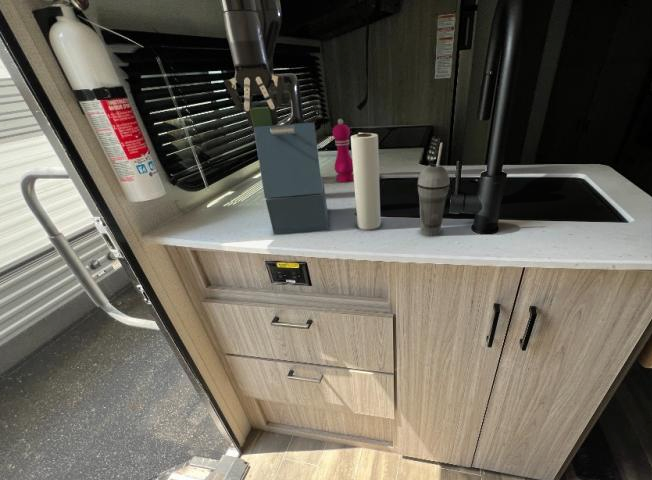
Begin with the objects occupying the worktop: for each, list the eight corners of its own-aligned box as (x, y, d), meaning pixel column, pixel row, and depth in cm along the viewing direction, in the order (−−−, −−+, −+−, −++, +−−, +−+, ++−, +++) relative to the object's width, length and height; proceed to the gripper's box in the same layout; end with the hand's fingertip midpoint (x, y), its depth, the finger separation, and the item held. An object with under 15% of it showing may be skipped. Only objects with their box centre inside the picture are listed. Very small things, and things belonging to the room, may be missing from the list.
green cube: (257, 128, 82) (253, 107, 80) (275, 126, 82) (271, 106, 80) (254, 130, 79) (249, 109, 76) (272, 129, 79) (268, 107, 76)
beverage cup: (423, 224, 82) (428, 138, 70) (450, 229, 78) (459, 140, 66) (409, 234, 77) (412, 144, 65) (437, 241, 74) (445, 146, 62)
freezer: (280, 213, 94) (273, 182, 88) (327, 209, 94) (323, 178, 89) (273, 234, 82) (265, 200, 76) (327, 229, 82) (322, 195, 77)
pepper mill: (338, 177, 122) (332, 117, 110) (356, 177, 121) (352, 117, 109) (334, 183, 116) (327, 120, 104) (353, 182, 115) (348, 119, 103)
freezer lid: (254, 128, 73) (248, 120, 68) (314, 123, 74) (312, 115, 69) (265, 198, 76) (260, 196, 72) (322, 193, 77) (321, 190, 72)
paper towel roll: (376, 231, 80) (372, 137, 67) (354, 229, 82) (346, 136, 69) (384, 220, 85) (383, 131, 72) (363, 218, 87) (358, 131, 74)
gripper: (280, 40, 74) (294, 123, 84) (218, 43, 73) (239, 127, 83) (276, 36, 68) (291, 127, 78) (208, 40, 67) (232, 131, 77)
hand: (264, 126), depth 80 cm, fingers closed on green cube, 4 cm apart
